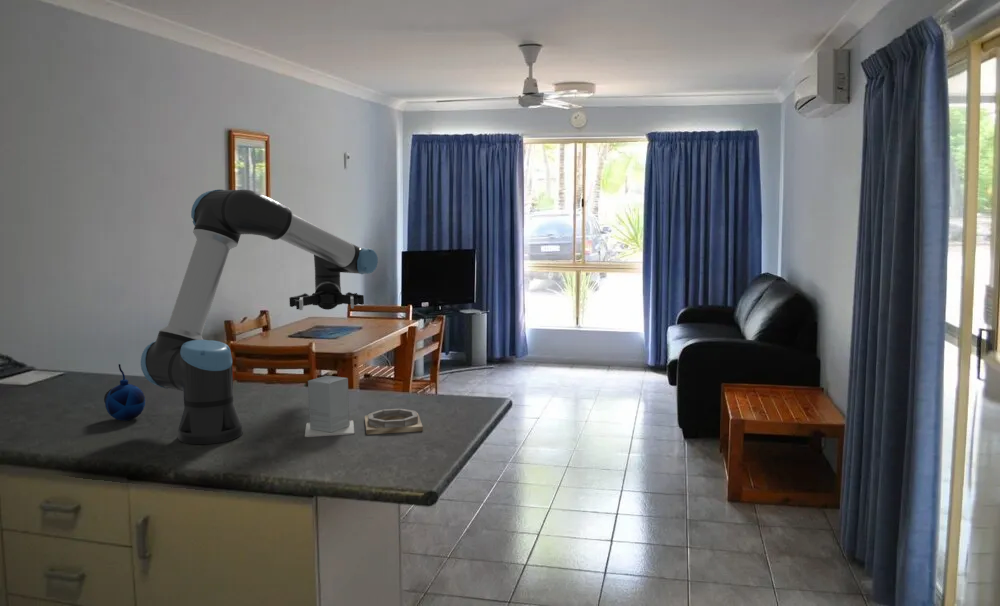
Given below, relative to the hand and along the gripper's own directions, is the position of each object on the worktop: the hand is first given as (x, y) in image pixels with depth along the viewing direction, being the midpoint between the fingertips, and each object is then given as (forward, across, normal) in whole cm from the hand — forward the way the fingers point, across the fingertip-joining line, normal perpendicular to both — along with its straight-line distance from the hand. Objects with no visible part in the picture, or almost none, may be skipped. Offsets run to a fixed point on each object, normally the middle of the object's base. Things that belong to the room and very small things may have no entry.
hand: (326, 304), depth 230 cm
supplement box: (+17, 0, -30) cm, 34 cm away
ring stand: (+17, -16, -30) cm, 38 cm away
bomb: (-5, +54, -30) cm, 62 cm away
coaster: (+17, 0, -30) cm, 34 cm away
